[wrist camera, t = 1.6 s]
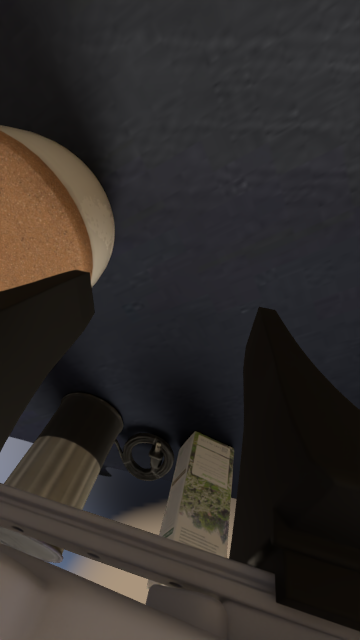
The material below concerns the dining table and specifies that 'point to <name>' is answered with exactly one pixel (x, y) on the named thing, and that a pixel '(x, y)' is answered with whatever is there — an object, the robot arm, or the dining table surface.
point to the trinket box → (49, 212)
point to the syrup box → (200, 496)
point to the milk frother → (77, 462)
